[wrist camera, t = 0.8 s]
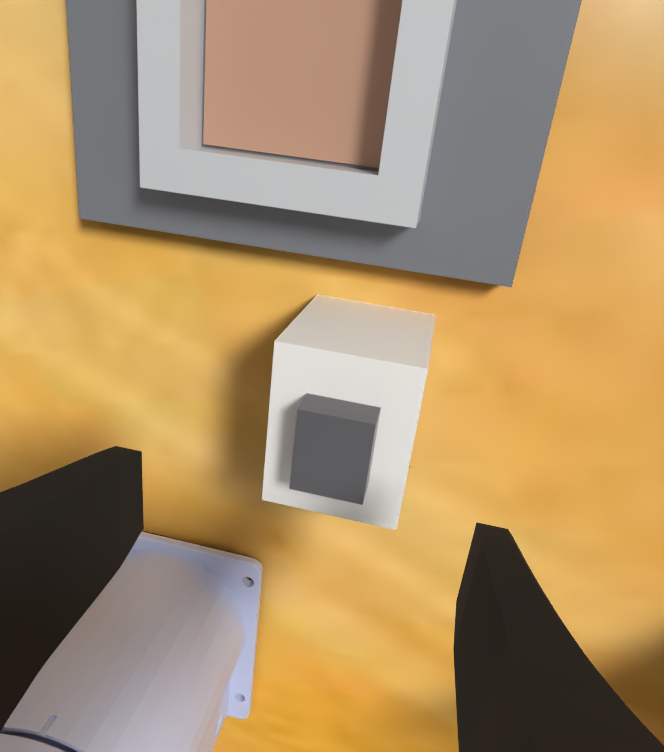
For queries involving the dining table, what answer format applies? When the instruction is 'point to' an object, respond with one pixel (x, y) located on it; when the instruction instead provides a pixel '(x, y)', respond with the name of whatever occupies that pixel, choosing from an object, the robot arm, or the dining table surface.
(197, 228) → the socket dock
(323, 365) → the plug
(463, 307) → the dining table surface
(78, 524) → the robot arm
